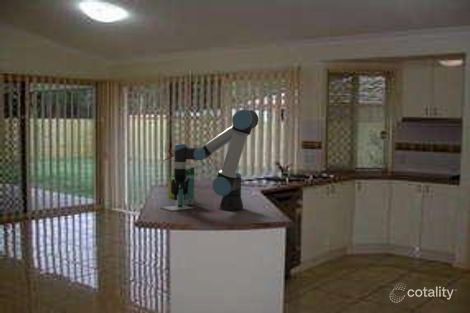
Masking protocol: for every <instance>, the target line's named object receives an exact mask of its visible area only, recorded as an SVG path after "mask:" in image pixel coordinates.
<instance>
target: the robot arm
mask: <svg viewBox="0 0 470 313" xmlns="http://www.w3.org/2000/svg"><path fill="white" fill-rule="evenodd" d="M231 122H232V125H231V126H230V127H228V128H226V129H225V130H223V132H221V133H220V134H217V135H216V136H215V137H214V138H212V139H211V140H209V141H208V142H206V143H204V144H203V145H202V146H201V147H188V145H187V144H186V143H176V144H175V145H174V150H175V156H174V169H173V174H175V176H174V178H173V179H170V178H169V179H170V180H171V193H172V194H174V198H173V200H174V206H178V200H179V195H178V189H179V185H180V184H181V187H183V205H184V199H185V195H186V193H188V183H189V178H187V177H186V169H185V168H186V166H187V160H193V161H203V160H204V159H208V158H210V157H211V156H212V154H214V153H215V152H217V151H218V150H219V149H221V148H223V147H224V146H226V145H227V144H228V143H229V145H228V148H227V151H226V154H225V158H224V161H223V164H222V168H221V169H220V170H218V173H217V176H216V177H215V178H214V180H213V181H212V190H213V192H214V193H215V194H216V195H218V196H220V197H221V201H220V203H219V209H221V210H224V211H241V210H244V204H243V200H242V180H243V179H242V174H241V173H236V172H237V169H238V166H239V163H240V159H241V156H242V153H243V150H244V146H245V143H246V140H247V138H248V136H250V135H251V133H252V130H253V129H255V128H256V127H257V126H258V125H259V116H258V114H257V112H255V111H253V110H251V109H240V110H237V111H235V112H234V114H233V115H232V119H231ZM184 180H185V182H184ZM175 181H176V182H175ZM184 184H185V186H184Z"/></svg>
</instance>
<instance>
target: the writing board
mask: <svg viewBox="0 0 470 313" xmlns="http://www.w3.org/2000/svg"><path fill="white" fill-rule="evenodd" d="M194 208H195V207H193V206H190V205H182V207H178V206H177V205H172V206H171V205H170V206H162V207H159V209H161V210H163V209H164V210H163V211H167V210H168V212H171V211H173V212H179V210H181V211H187V210H186V209H190V210H195V209H194Z"/></svg>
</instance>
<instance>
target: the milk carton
mask: <svg viewBox="0 0 470 313" xmlns="http://www.w3.org/2000/svg"><path fill="white" fill-rule="evenodd" d="M185 169H186V177H187V178H189V183H188V193H186V195H185V199H184V205H185V206H189V205H188V204H191V205H194V204H195V166H188V165H186V168H185ZM175 182H176V181H175ZM184 182H185V180H184ZM184 186H185V184H184ZM179 187H181V184H180V185H179Z"/></svg>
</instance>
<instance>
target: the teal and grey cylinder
mask: <svg viewBox="0 0 470 313" xmlns="http://www.w3.org/2000/svg"><path fill="white" fill-rule="evenodd" d="M178 195H179V200H178V207H182V205H183V187H179V189H178Z"/></svg>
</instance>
